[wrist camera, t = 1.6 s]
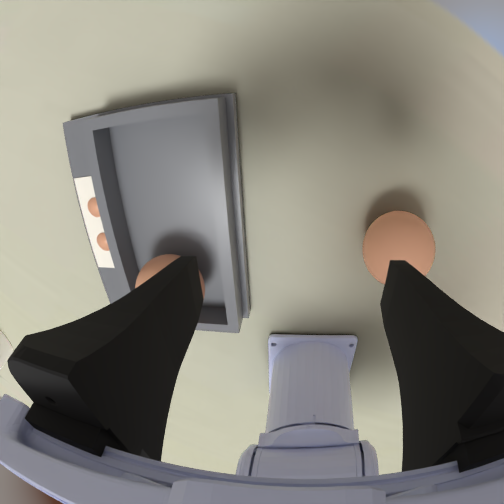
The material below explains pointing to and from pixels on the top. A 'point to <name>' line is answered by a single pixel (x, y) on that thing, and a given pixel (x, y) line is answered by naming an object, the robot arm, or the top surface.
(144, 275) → the resting terracotta ball
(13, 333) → the top surface
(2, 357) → the cylindrical container
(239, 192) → the grey rimmed tray
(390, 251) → the terracotta ball
